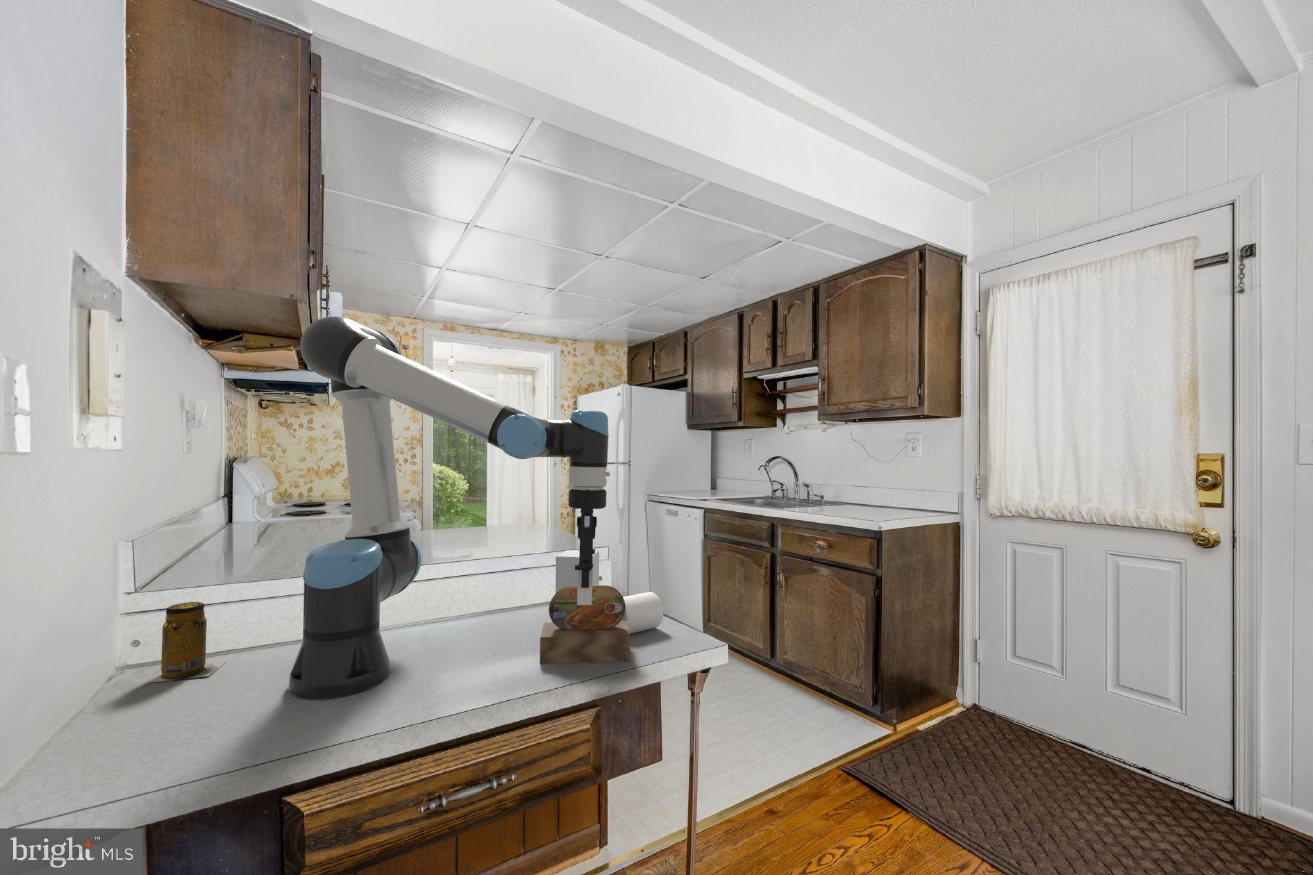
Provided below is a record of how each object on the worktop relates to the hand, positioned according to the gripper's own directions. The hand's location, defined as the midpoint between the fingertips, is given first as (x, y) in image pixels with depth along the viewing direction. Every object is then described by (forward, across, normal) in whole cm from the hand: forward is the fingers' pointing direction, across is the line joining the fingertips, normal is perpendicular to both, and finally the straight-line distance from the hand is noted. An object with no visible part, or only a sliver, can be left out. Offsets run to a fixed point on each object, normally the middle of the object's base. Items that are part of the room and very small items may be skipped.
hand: (584, 594), depth 111 cm
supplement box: (+12, +27, +2) cm, 30 cm away
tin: (+7, 0, -1) cm, 7 cm away
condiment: (+13, -3, +70) cm, 71 cm away
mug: (+12, +15, -10) cm, 22 cm away
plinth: (+12, 0, 0) cm, 12 cm away
